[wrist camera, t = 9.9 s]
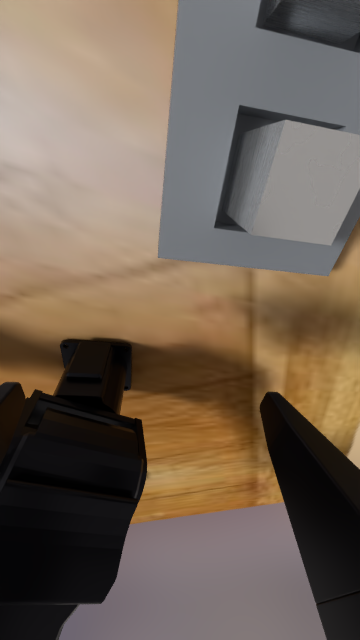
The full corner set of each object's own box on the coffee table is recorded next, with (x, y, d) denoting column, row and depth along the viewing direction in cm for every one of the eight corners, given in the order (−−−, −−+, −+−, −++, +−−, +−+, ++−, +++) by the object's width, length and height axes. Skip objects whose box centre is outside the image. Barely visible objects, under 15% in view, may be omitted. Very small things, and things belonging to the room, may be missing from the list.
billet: (279, 218, 16) (331, 245, 11) (222, 210, 15) (250, 234, 11) (304, 146, 14) (383, 140, 9) (239, 133, 13) (285, 119, 8)
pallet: (306, 260, 19) (328, 276, 16) (158, 243, 17) (157, 257, 15) (513, -195, 9) (648, -330, 6) (205, -330, 7) (227, -574, 5)
